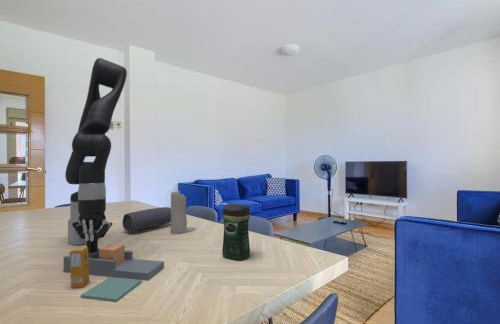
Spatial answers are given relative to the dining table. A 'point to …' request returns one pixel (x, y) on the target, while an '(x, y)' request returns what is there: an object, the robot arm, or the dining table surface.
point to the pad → (111, 289)
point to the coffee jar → (236, 231)
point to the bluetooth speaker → (146, 219)
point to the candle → (179, 214)
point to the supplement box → (79, 267)
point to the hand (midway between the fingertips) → (92, 251)
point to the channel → (120, 267)
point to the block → (113, 253)
